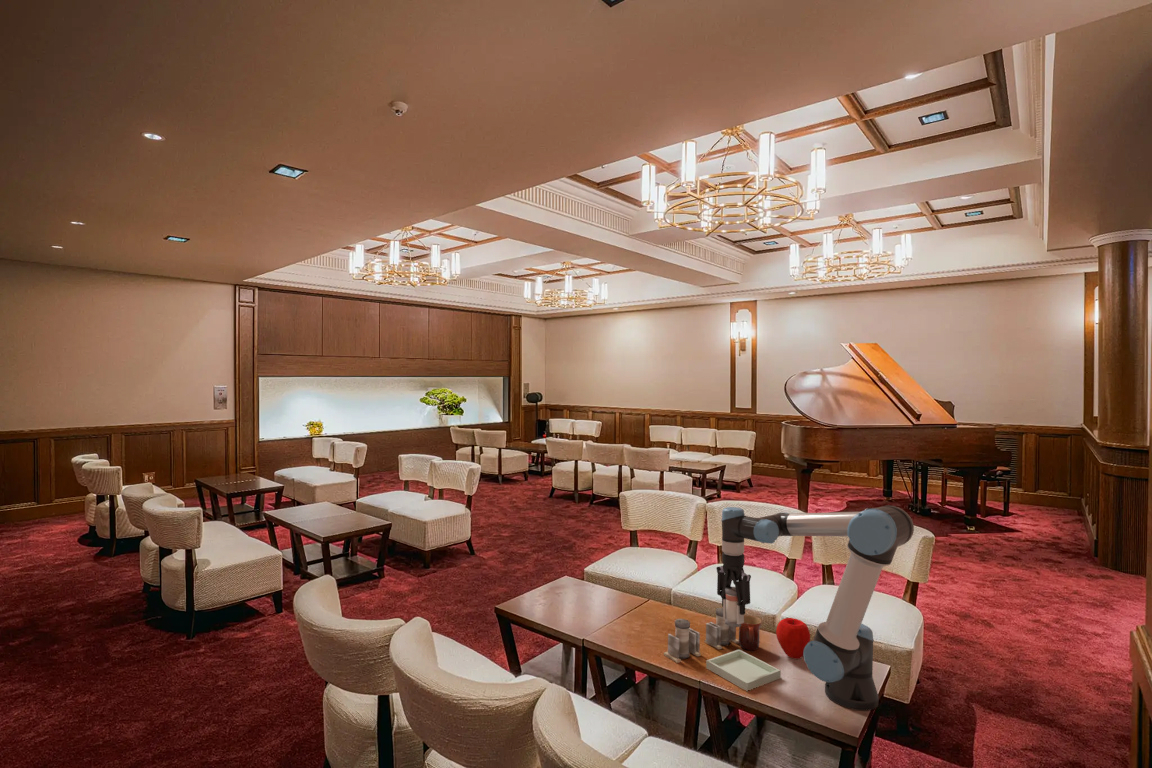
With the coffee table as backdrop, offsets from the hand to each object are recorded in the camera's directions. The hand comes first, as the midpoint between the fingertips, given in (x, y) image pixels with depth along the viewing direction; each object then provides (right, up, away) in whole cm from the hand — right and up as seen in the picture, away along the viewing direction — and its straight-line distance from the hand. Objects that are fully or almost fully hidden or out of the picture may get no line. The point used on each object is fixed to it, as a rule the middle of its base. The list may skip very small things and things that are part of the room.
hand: (733, 620), depth 196 cm
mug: (+10, -17, +14) cm, 24 cm away
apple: (+24, -17, +8) cm, 30 cm away
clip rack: (-8, -16, +13) cm, 22 cm away
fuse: (0, -1, 0) cm, 1 cm away
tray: (+2, -16, -5) cm, 17 cm away
